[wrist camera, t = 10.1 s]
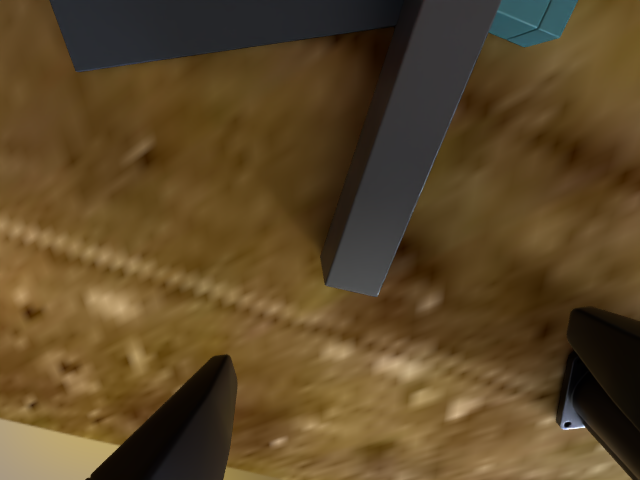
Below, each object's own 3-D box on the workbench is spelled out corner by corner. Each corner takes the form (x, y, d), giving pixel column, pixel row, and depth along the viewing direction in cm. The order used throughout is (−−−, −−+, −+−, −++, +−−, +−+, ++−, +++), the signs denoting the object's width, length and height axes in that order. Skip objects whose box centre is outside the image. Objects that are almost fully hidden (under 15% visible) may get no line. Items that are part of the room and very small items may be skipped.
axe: (417, 280, 18) (439, 312, 15) (260, 243, 16) (253, 270, 14) (680, -289, 10) (821, -436, 8) (435, -460, 9) (499, -721, 6)
